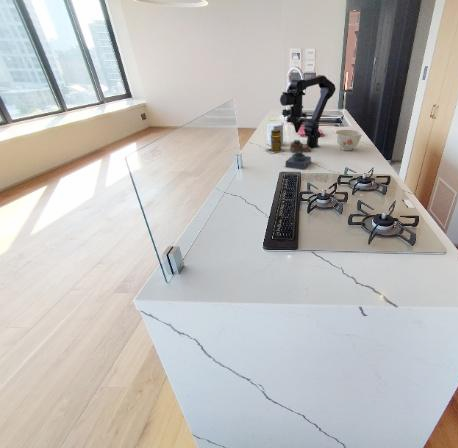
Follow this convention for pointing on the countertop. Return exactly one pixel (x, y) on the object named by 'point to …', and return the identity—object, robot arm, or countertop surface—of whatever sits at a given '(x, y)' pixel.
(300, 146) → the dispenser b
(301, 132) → the dish towel
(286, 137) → the countertop surface
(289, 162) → the dispenser
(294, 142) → the nozzle
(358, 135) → the bowl
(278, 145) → the condiment
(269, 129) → the white packaging box
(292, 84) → the robot arm
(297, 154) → the nozzle
